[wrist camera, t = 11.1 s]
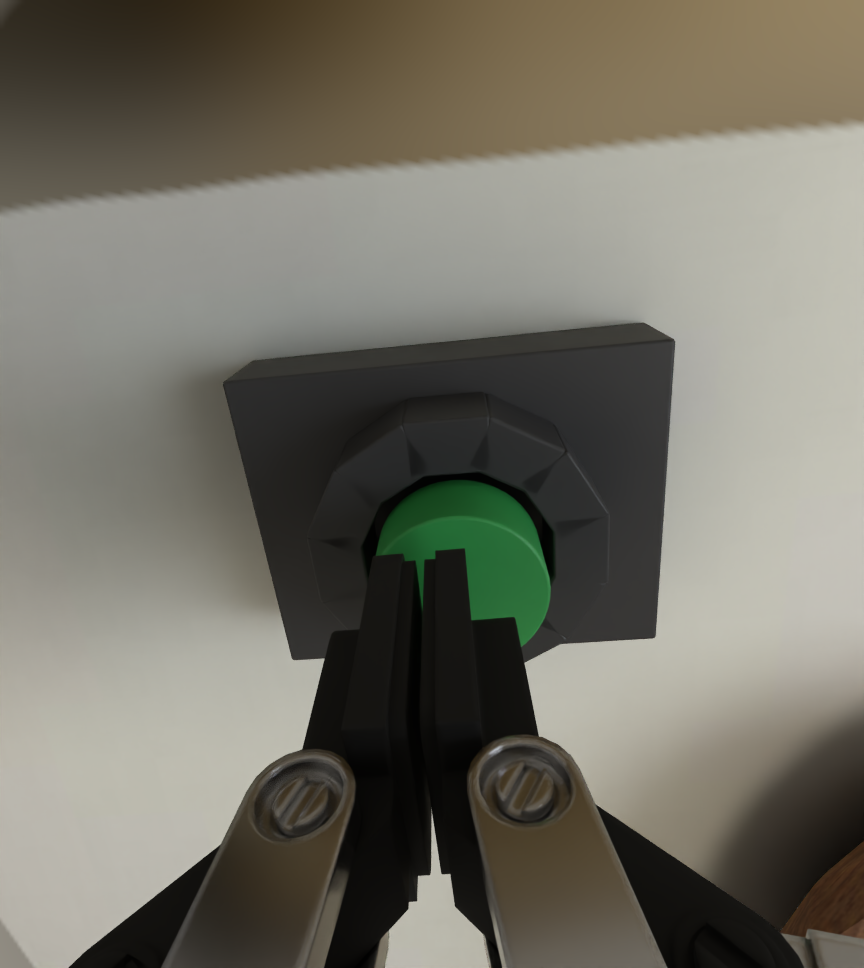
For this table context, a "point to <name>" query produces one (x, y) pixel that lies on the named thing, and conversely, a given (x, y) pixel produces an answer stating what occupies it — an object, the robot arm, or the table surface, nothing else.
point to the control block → (464, 466)
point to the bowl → (834, 901)
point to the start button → (476, 547)
